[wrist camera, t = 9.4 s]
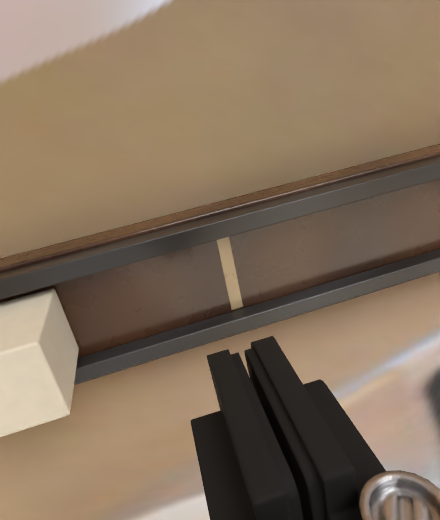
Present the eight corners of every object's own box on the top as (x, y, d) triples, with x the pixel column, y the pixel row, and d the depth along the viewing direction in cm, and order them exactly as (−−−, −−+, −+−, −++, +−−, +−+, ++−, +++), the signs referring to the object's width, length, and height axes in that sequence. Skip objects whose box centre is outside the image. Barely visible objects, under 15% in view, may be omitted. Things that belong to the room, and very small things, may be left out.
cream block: (54, 286, 15) (37, 341, 12) (79, 349, 16) (71, 416, 13) (-61, 318, 15) (-114, 386, 11) (-26, 380, 16) (-65, 459, 12)
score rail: (488, 130, 19) (533, 134, 17) (481, 237, 21) (521, 252, 19) (-137, 294, 15) (-175, 324, 13) (-69, 403, 17) (-93, 444, 15)
